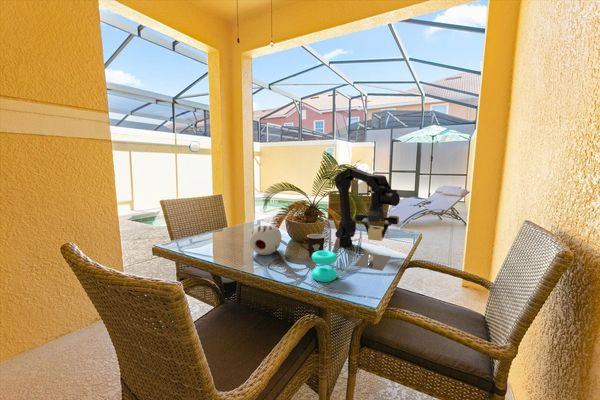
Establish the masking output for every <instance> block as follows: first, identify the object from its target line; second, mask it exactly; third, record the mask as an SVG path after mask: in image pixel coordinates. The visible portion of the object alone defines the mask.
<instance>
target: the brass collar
mask: <svg viewBox="0 0 600 400" xmlns="http://www.w3.org/2000/svg"><path fill="white" fill-rule="evenodd" d="M383 229H384V226H374V225H370V228H368V233H367V240H369V241H370V240H371V241H379V242H382V241H383V240H384V238H383Z"/></svg>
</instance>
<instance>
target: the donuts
mask: <svg viewBox="0 0 600 400" xmlns="http://www.w3.org/2000/svg"><path fill="white" fill-rule="evenodd" d="M311 260H312V261H313V262H314V263H315V264H317V265H320V266H318V267H315V268H314V269H313V270H312V271H311V277H312V278H313V279H314V281H317V282H321V283H327V282H328V283H329V282H332V281H334V280H336V278H337V277H338V273H337V271H336V270H335V269H334V268H332V267H331V266H330V267H329V265H332V264H335V263H336V261H337V260H338V255H337V254H336V253H335V252H333V251H331V250H323V251H316V252H314V253H313V254H312V257H311ZM321 265H322V266H321ZM323 265H324V266H323Z"/></svg>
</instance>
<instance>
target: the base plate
mask: <svg viewBox="0 0 600 400" xmlns="http://www.w3.org/2000/svg"><path fill="white" fill-rule="evenodd" d="M390 258H391V256H390V255H384V254H377V253H371V252H364V253H363V254H362V256H361V257H360V258H359V259H358V260H357V261H356V262H355V263H354V265H353V266H354V267H357V268H358V267H359V268H365V269H369V270H376V271H383V270H384V269H385V267H386V265H388V262H389V260H390Z"/></svg>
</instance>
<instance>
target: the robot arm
mask: <svg viewBox="0 0 600 400" xmlns="http://www.w3.org/2000/svg"><path fill="white" fill-rule="evenodd" d="M355 179H357V180H359V181H362V182H364V183H366V185H367V186H368V187H370V188H369V189H368V190H367V193H369V194H370V208H369V211H368V212H367V213H361V212H358V213H356V214H355V215H354V216H355V217H354V220H353V219H352V212H351V202H350V192H349V191H350V188H351V186H352V182H353V181H354V180H355ZM334 184H335V185H334V186H335V187H336V190H338V195H339V205H340V217H341V218H340V221H339V224H338V229H337V231H335V232H334V233H335V237H336V238H337V240H338V241H337V242H338V244H337V248H338V249H340V248H341V247H342V248H351V247H352V246H353V239H352V238H354V236H355V234H356V230H357V224H356V222H360V223H361V224H363V225H364V227H365V229H366V233H367V234H368V228H370V227H371V223H379V222H384V223H383V227H384V229H383V239H384V238H385V235H386V233H387V230H388V228H389V226H392V225H398V224H399V223H400V217H399V216H398V215H389V216H385V215H386V214H385V211H384V207H385V206H391V207H397V206H398V205H399V203H400V202H401V197H400V194H399V193H397V192H398V190H397V189H392V187H391V185H390V183H389V182H388V180H387V177H386V175H382V174H373V173H369V172H367V171H364V170H362V169H359V168H357V167H348V168H346V169H345V170H343V171H341V172H339V173H338V174H337V175H336V176H335V177H334Z"/></svg>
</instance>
